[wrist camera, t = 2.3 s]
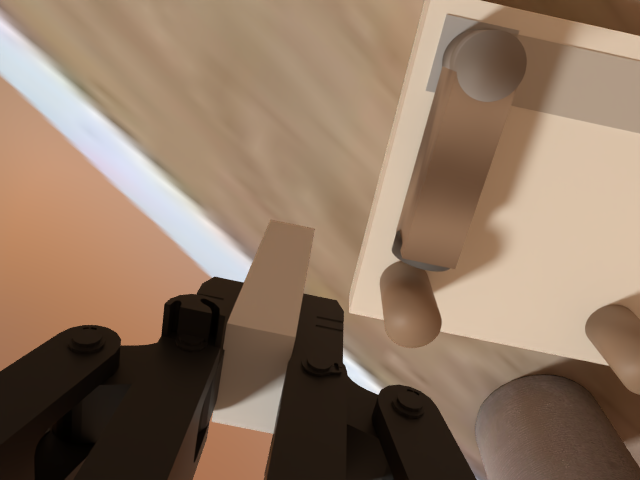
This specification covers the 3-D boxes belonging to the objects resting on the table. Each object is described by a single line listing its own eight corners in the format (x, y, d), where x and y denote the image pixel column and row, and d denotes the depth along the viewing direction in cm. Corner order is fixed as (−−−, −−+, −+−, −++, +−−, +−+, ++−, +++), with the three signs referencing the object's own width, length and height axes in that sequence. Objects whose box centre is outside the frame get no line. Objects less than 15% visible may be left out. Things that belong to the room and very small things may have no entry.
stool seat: (426, -8, 29) (450, -19, 22) (761, 67, 30) (887, 79, 23) (349, 295, 37) (349, 356, 30) (616, 349, 37) (677, 422, 30)
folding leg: (448, 23, 27) (464, 22, 23) (513, 37, 27) (541, 39, 23) (389, 237, 32) (394, 265, 28) (444, 248, 32) (458, 279, 28)
